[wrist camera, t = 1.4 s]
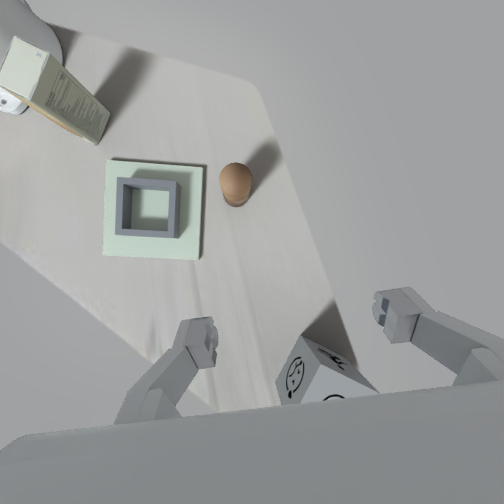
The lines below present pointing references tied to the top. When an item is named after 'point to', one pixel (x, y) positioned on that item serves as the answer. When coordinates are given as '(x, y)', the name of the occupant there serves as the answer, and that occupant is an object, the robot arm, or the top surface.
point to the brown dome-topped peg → (236, 184)
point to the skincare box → (52, 90)
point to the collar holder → (152, 210)
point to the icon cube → (319, 376)
